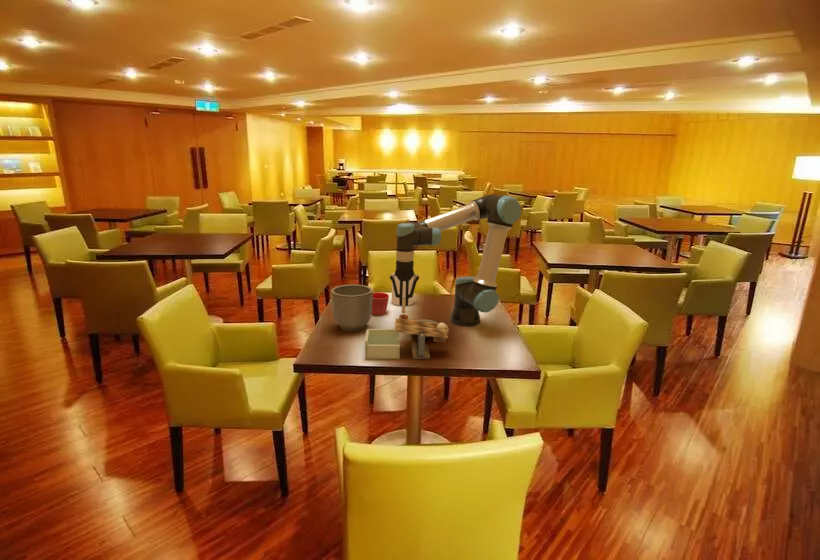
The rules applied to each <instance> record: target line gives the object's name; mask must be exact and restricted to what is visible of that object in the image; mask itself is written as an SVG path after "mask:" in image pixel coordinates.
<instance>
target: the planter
mask: <svg viewBox="0 0 820 560" xmlns="http://www.w3.org/2000/svg"><path fill="white" fill-rule="evenodd" d="M373 293H374V291H373V288H372V287H370V286H367V285H363V284H344V285H343V284H342V285H337V286H334V287H333V288H332V289H331V290H330V299H331V310H332V315H333V320H334V322H335V323H336V324H337V325H338V326H339V327H340V328H341V330H343V331H344V332H349V333H351V332H352V333H353V332H354V333H355V332H359V331H362V330H363V329H364V328H365V326H367V324H368V323H369V322H370V319H371V318H372V302H373Z"/></svg>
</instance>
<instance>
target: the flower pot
mask: <svg viewBox="0 0 820 560" xmlns="http://www.w3.org/2000/svg"><path fill="white" fill-rule="evenodd" d="M389 298H390V295H389V294H388V293H385V292H373V302H372V313H371V315H374V316H383V315H385V314H386V313H387V308H388V304H389Z"/></svg>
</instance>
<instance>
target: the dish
mask: <svg viewBox="0 0 820 560" xmlns="http://www.w3.org/2000/svg"><path fill="white" fill-rule="evenodd" d="M415 321H423V322H431V323H438V322H437V321H434V320H431V319H417V320H415ZM415 335H416V336H417V334H415ZM429 337H431V336H426V335H425V338H429Z"/></svg>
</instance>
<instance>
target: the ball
mask: <svg viewBox="0 0 820 560" xmlns="http://www.w3.org/2000/svg"><path fill="white" fill-rule="evenodd" d="M438 323H439V324H438V325H437V329H442V330H446V323H445V322H438Z"/></svg>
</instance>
